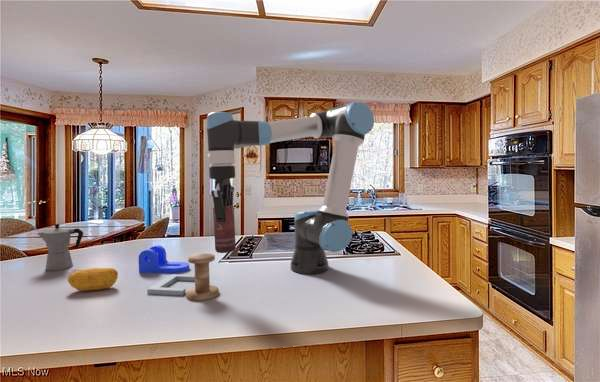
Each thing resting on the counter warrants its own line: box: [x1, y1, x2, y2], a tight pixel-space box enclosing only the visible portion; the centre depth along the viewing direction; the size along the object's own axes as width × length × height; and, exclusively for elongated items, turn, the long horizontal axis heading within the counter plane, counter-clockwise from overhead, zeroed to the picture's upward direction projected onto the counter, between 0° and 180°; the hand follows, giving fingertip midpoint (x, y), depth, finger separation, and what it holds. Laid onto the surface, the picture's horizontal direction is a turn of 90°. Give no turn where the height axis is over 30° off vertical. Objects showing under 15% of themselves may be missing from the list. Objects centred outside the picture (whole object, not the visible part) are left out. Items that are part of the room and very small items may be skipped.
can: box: [212, 205, 237, 254], centre depth 99 cm, size 6×6×14 cm
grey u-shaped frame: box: [146, 273, 195, 296], centre depth 111 cm, size 12×15×2 cm
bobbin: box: [185, 253, 220, 302], centre depth 104 cm, size 10×10×12 cm
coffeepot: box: [36, 223, 84, 272], centre depth 133 cm, size 15×9×18 cm, turn 113°
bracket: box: [138, 244, 190, 274], centre depth 130 cm, size 18×8×9 cm, turn 86°
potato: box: [67, 267, 119, 291], centre depth 109 cm, size 7×14×7 cm, turn 98°
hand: (226, 242), depth 99 cm, fingers closed
